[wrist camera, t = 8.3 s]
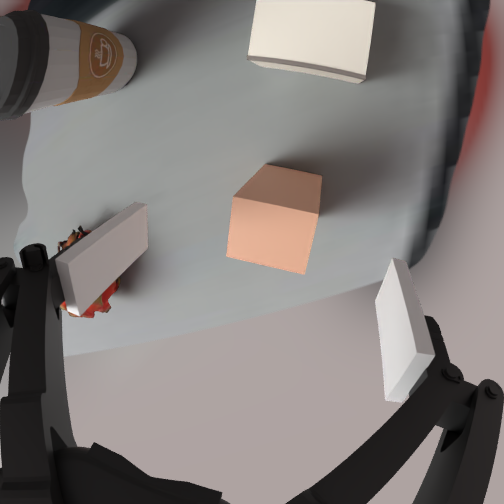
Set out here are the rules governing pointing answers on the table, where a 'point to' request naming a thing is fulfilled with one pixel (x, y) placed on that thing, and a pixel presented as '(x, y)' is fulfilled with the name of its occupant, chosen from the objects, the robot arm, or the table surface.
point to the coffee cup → (58, 62)
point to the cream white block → (313, 37)
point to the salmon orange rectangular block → (275, 218)
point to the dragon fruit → (102, 300)
